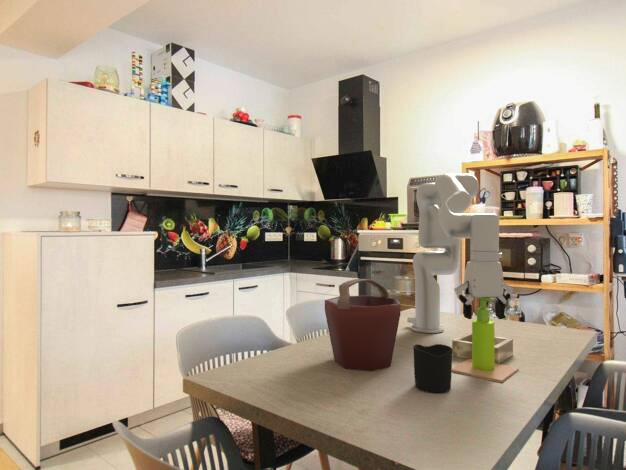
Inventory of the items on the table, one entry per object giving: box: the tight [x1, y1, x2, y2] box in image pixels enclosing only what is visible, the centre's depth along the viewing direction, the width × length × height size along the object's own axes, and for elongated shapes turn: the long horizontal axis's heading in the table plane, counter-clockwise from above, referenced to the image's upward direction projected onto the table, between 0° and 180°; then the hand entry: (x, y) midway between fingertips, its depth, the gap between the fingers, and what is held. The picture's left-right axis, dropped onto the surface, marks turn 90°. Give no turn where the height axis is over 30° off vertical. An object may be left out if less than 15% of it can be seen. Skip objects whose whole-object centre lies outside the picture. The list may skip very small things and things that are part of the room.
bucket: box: [324, 278, 401, 372], centre depth 130 cm, size 24×22×25 cm
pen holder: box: [412, 343, 453, 394], centre depth 108 cm, size 9×9×10 cm
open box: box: [451, 332, 514, 364], centre depth 137 cm, size 14×14×5 cm
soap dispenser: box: [471, 298, 495, 371], centre depth 122 cm, size 6×7×20 cm
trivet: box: [451, 359, 520, 383], centre depth 121 cm, size 14×14×1 cm
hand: (483, 317), depth 122 cm, fingers open, 9 cm apart
